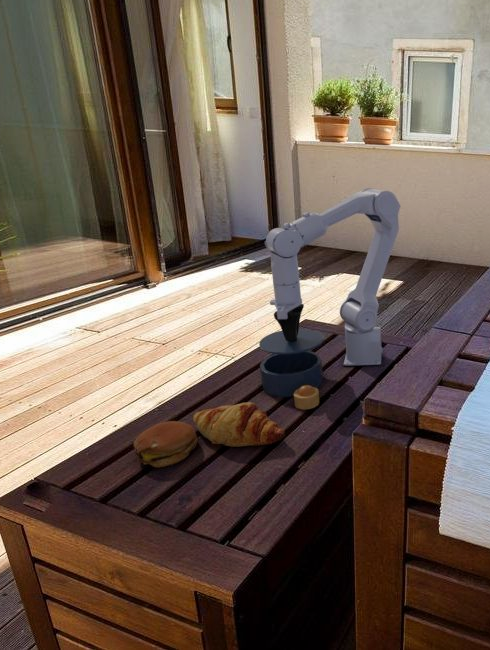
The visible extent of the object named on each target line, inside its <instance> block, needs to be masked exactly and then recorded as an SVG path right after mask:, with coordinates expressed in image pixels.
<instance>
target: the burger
mask: <svg viewBox="0 0 490 650" xmlns="http://www.w3.org/2000/svg"><path fill="white" fill-rule="evenodd" d="M198 442H199V439H198V435H197V432H196V430H195V429H194V427H193V426H192V425H191V424H189V423H187V422H183V421H176V420H170V421H163V422H159V423H156V424H154V425H153V426H151V427H148V428H147V429H145V430H144V431H143V432H141V433H140V434H139V435H138V436H137V437H136V439H135V440H134V442H133V445H132V446H133V448H134V450H136V451H135V456H137V457H138V458H137V462H139V463H142V464H143V465H150V466H151V467H154V468H165V467H170V466H173V465H174V464H177V463H180V462H181V461H183V460H185V459H186V458H187V457H188V456H189V455H190V453H191V452H192V451H193V450H194V449H195V448H196V446H197V444H198Z"/></svg>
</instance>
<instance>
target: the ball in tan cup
mask: <svg viewBox="0 0 490 650" xmlns="http://www.w3.org/2000/svg"><path fill="white" fill-rule="evenodd" d="M319 392H320V391H319V389H318V388H315V387H312V386H310V385H303V386H301V387H300V388H299V389H297V390H296V391H295V392H294V396H293V400H294V406H295V408H296V409H298V410H303V411H305V410H306V411H307V410H311V409H314V408H316V407H318V406H319V404H320V393H319Z"/></svg>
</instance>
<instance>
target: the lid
mask: <svg viewBox="0 0 490 650" xmlns="http://www.w3.org/2000/svg"><path fill="white" fill-rule="evenodd" d="M324 341H325V336H324V334H323V333H322V332H320V331H318V330H315V329H310V328H299V331H298V335H297V330H296V339H295V341H286V339H285V337H284V334H283V332H282V330H278V331H275V332H272V333H270V334H267V335H265V336H264V337H262V338H261V339H260V341H259V348H260V350H262V351H263V352H266V353H267V354H268V353H269V354H271V355H274V354H296V353H302V352H306V351H312V350H314V349H317V348H318V347H320V346H321V345H322V344H323V343H324Z"/></svg>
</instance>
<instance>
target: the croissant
mask: <svg viewBox="0 0 490 650" xmlns="http://www.w3.org/2000/svg"><path fill="white" fill-rule="evenodd" d="M192 420H193V423H194V425H195V426H196V429H197V430H198V432H199V433H200V434H201V435H202V436H203V437H204V438H205V439H207V440H208V441H210V442H211V444H212V445H224V446H226V447H232V448H233V447H235V448H238V447H247V446H265V445H272V444H274V443H276V442H279V441H281V440H283V439H284V437H285V435H286V430H285V428H282V427H279V424H278V423H277V422H276V421H273V420H272V419H271V418H269V417H268V415H267V412H266V411H264V410H261V409H259V408H258V406H257V404H256V403H254V402H251V401H247V402H241V403H236V404H228V405H221V406H218V407H216V408H207V409H204V410H201V411H196V412H195V413H194V415H193V417H192Z"/></svg>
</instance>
